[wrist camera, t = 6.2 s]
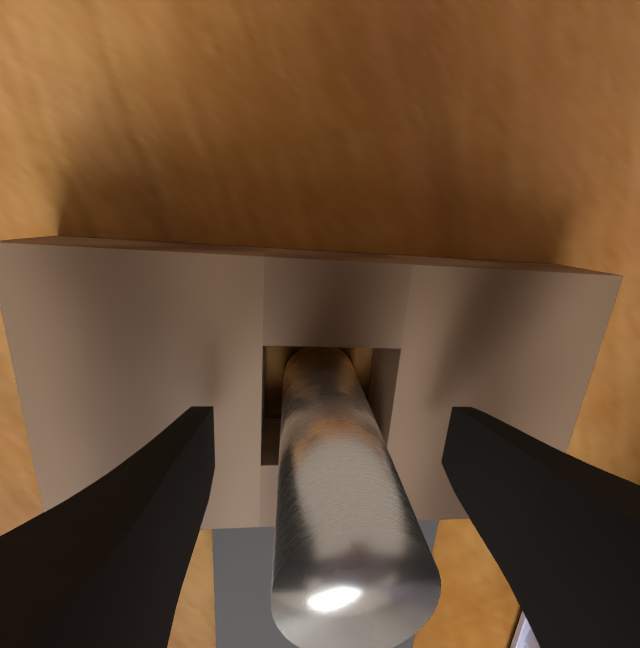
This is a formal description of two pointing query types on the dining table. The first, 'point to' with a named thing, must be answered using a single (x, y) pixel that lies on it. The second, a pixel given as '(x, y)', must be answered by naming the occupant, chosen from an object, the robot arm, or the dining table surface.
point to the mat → (256, 587)
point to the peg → (343, 518)
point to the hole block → (284, 330)
